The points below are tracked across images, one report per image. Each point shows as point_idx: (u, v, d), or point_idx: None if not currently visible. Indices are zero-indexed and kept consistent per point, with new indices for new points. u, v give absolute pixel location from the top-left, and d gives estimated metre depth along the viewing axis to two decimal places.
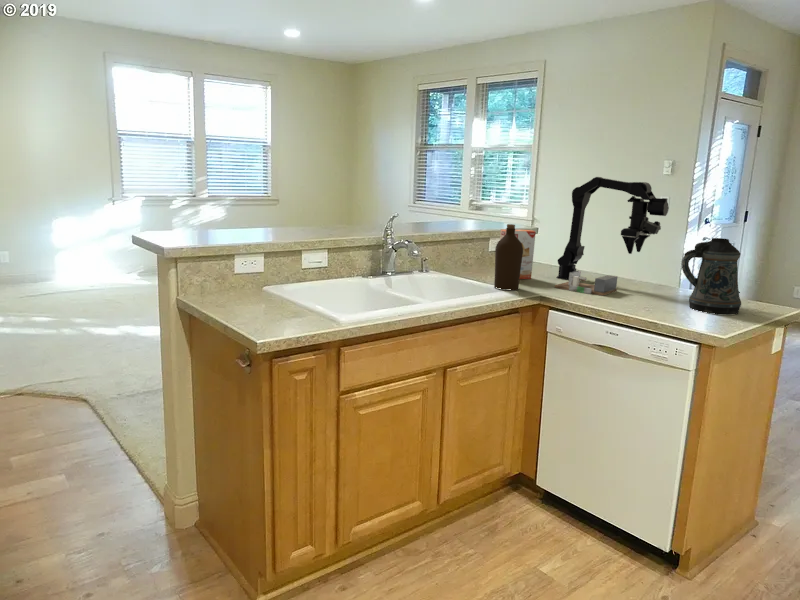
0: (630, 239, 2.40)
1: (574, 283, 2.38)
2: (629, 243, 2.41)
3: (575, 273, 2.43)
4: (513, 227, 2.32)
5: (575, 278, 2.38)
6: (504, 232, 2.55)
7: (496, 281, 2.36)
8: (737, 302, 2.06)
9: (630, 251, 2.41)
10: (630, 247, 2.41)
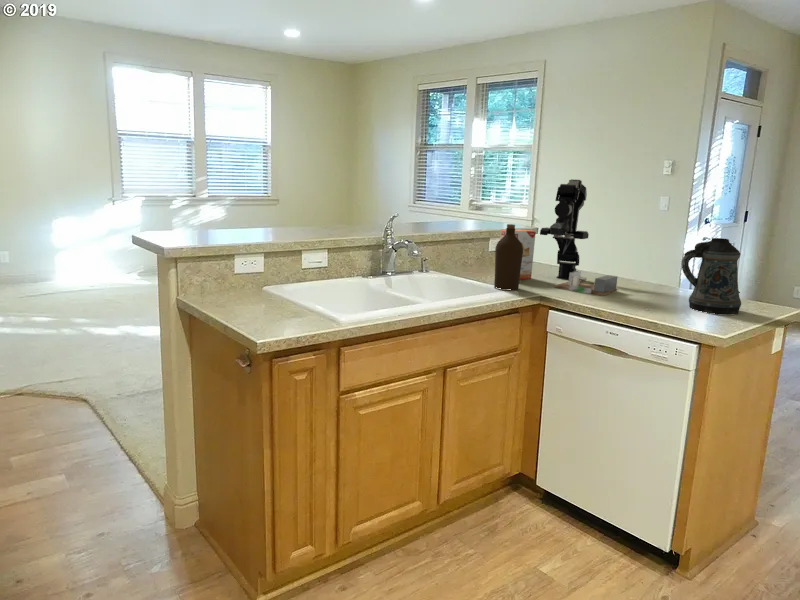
0: None
1: (574, 283, 2.38)
2: None
3: (575, 273, 2.43)
4: (513, 227, 2.32)
5: (575, 278, 2.38)
6: (504, 232, 2.55)
7: (496, 281, 2.36)
8: (737, 302, 2.06)
9: None
10: None
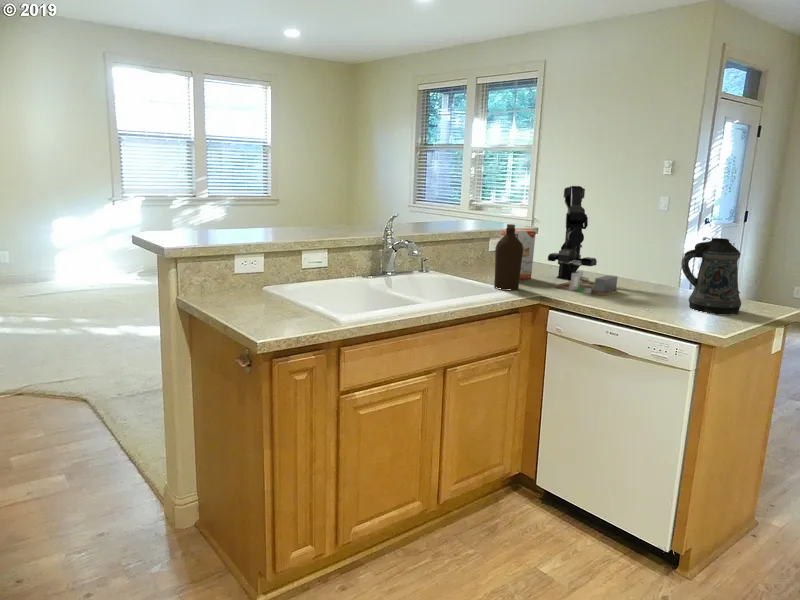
0: None
1: (575, 283, 2.38)
2: None
3: (577, 273, 2.43)
4: (513, 227, 2.32)
5: (576, 278, 2.37)
6: (504, 232, 2.55)
7: (496, 281, 2.36)
8: (737, 302, 2.06)
9: None
10: None
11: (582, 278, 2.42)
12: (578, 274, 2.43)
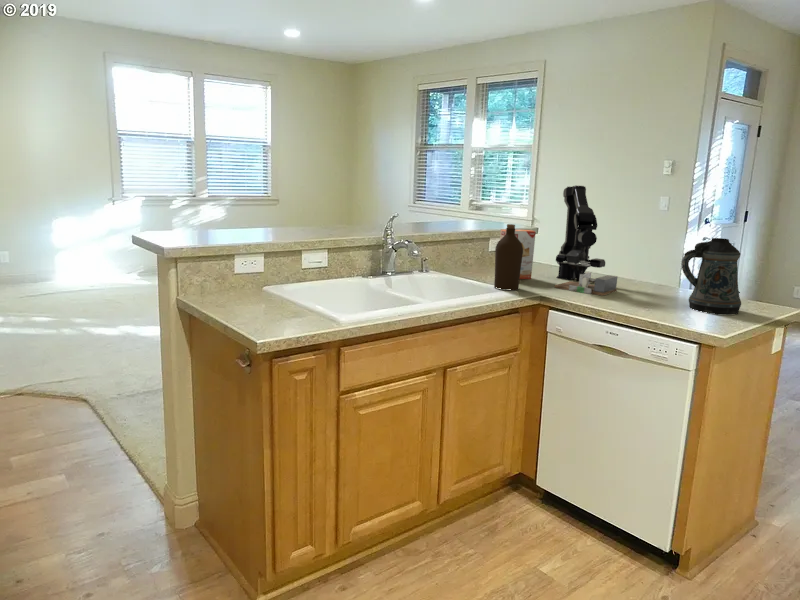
0: None
1: (583, 284, 2.36)
2: None
3: (585, 275, 2.40)
4: (513, 227, 2.32)
5: (584, 279, 2.35)
6: (504, 232, 2.55)
7: (496, 281, 2.36)
8: (737, 302, 2.06)
9: None
10: None
11: (590, 279, 2.40)
12: (586, 275, 2.41)
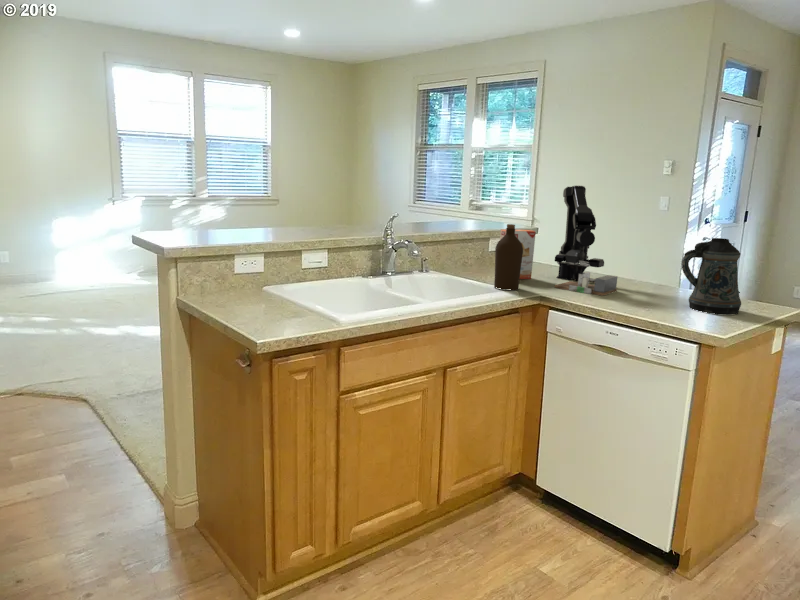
0: None
1: (583, 284, 2.36)
2: None
3: (584, 274, 2.41)
4: (513, 227, 2.32)
5: (584, 279, 2.35)
6: (504, 232, 2.55)
7: (496, 281, 2.36)
8: (737, 302, 2.06)
9: None
10: None
11: (589, 279, 2.40)
12: (585, 275, 2.41)
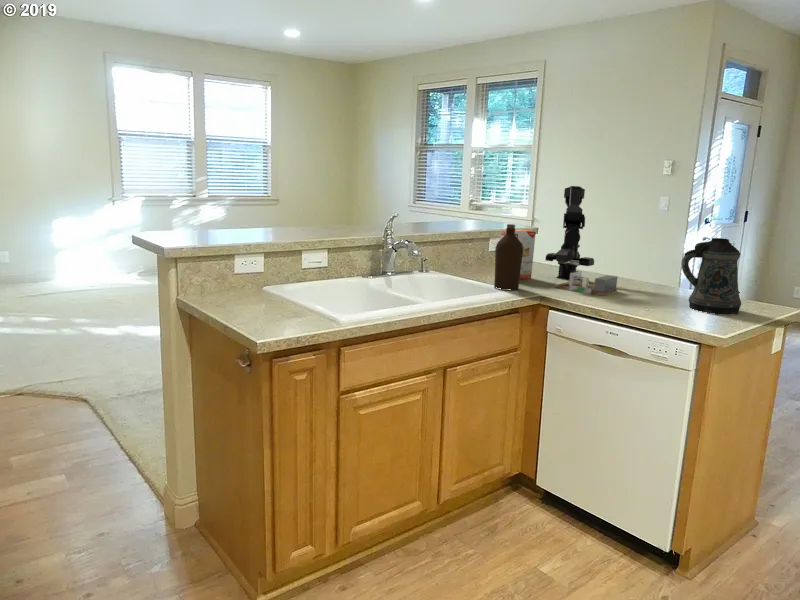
0: None
1: (583, 284, 2.36)
2: None
3: (576, 273, 2.43)
4: (513, 227, 2.32)
5: (584, 279, 2.35)
6: (504, 232, 2.55)
7: (496, 281, 2.36)
8: (737, 302, 2.06)
9: None
10: None
11: (581, 278, 2.42)
12: (577, 274, 2.44)
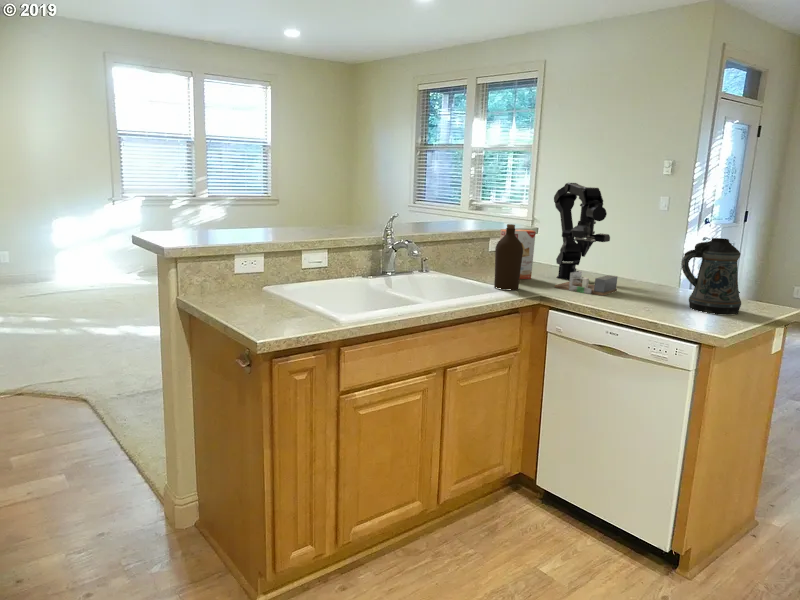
0: None
1: (583, 284, 2.36)
2: None
3: (576, 273, 2.43)
4: (513, 227, 2.32)
5: (584, 279, 2.35)
6: (504, 232, 2.55)
7: (496, 281, 2.36)
8: (737, 302, 2.06)
9: None
10: None
11: (581, 278, 2.42)
12: (577, 274, 2.44)
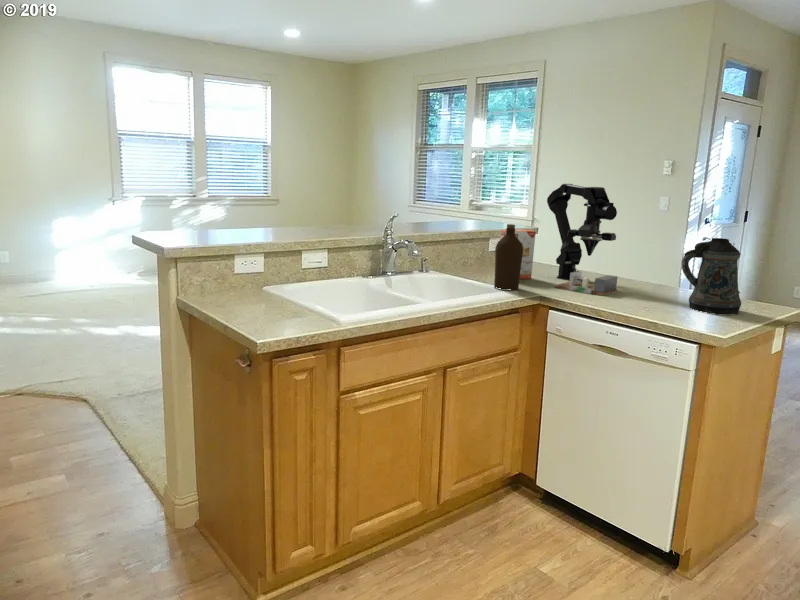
0: None
1: (583, 284, 2.36)
2: None
3: (576, 273, 2.43)
4: (513, 227, 2.32)
5: (584, 279, 2.35)
6: (504, 232, 2.55)
7: (496, 281, 2.36)
8: (737, 302, 2.06)
9: None
10: None
11: (581, 278, 2.42)
12: (577, 274, 2.44)
